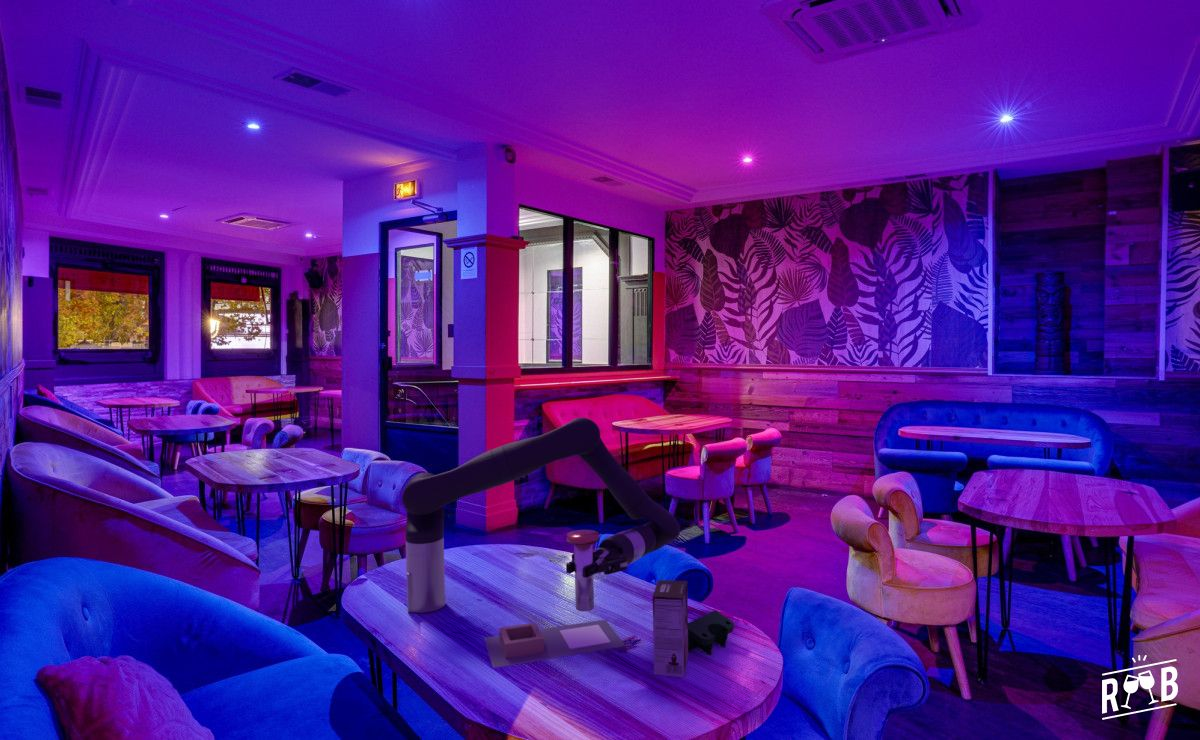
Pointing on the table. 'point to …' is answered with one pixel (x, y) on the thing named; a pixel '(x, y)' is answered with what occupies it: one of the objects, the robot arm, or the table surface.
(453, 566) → the table surface
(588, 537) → the mushroom shaped post
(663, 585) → the coffee box
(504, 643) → the board
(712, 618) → the clamp
